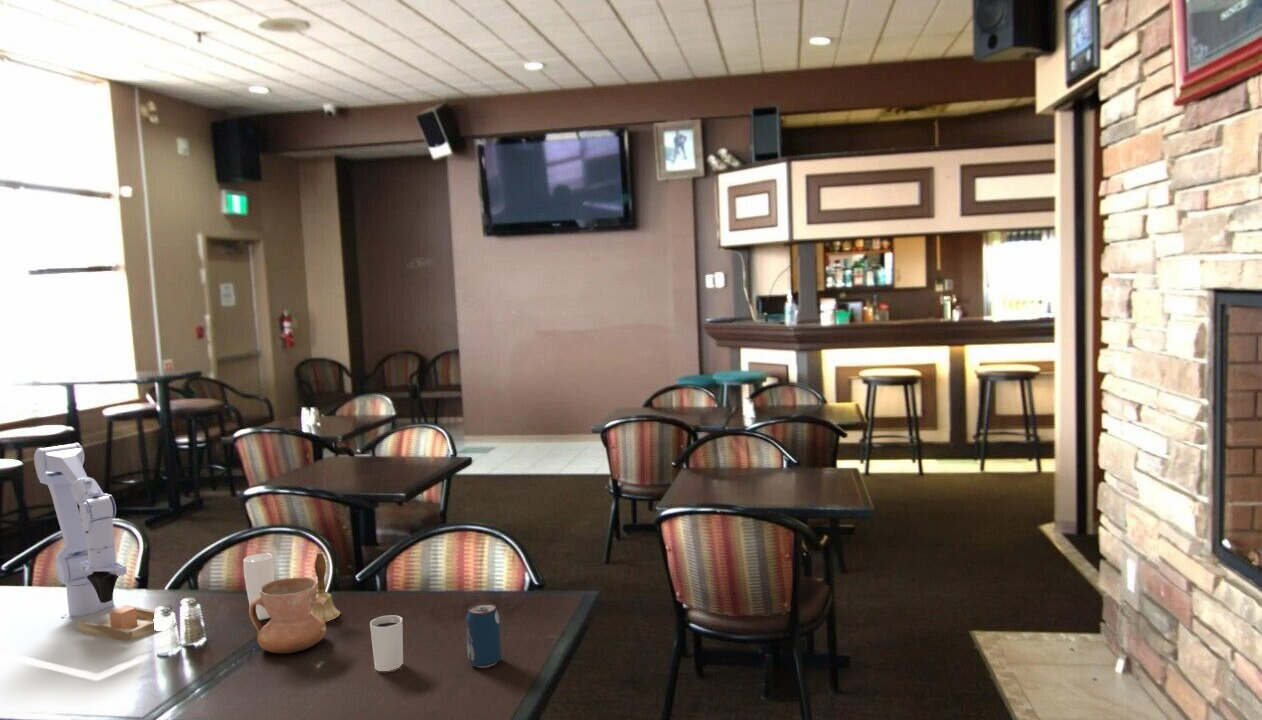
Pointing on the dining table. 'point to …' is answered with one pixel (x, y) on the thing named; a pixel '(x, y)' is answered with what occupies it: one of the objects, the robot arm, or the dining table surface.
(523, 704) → the dining table surface
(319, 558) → the hand bell
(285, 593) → the ceramic jug
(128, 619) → the terracotta block
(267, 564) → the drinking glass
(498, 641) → the soda can
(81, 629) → the shallow wooden tray
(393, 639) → the white cup
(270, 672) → the dining table surface
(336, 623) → the dining table surface
